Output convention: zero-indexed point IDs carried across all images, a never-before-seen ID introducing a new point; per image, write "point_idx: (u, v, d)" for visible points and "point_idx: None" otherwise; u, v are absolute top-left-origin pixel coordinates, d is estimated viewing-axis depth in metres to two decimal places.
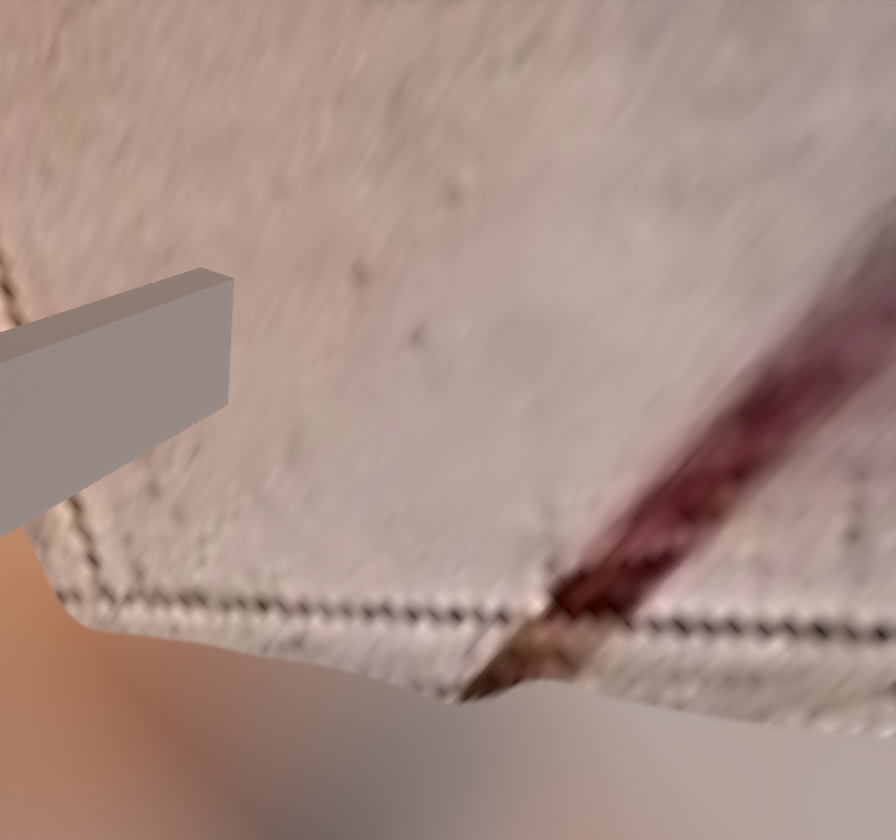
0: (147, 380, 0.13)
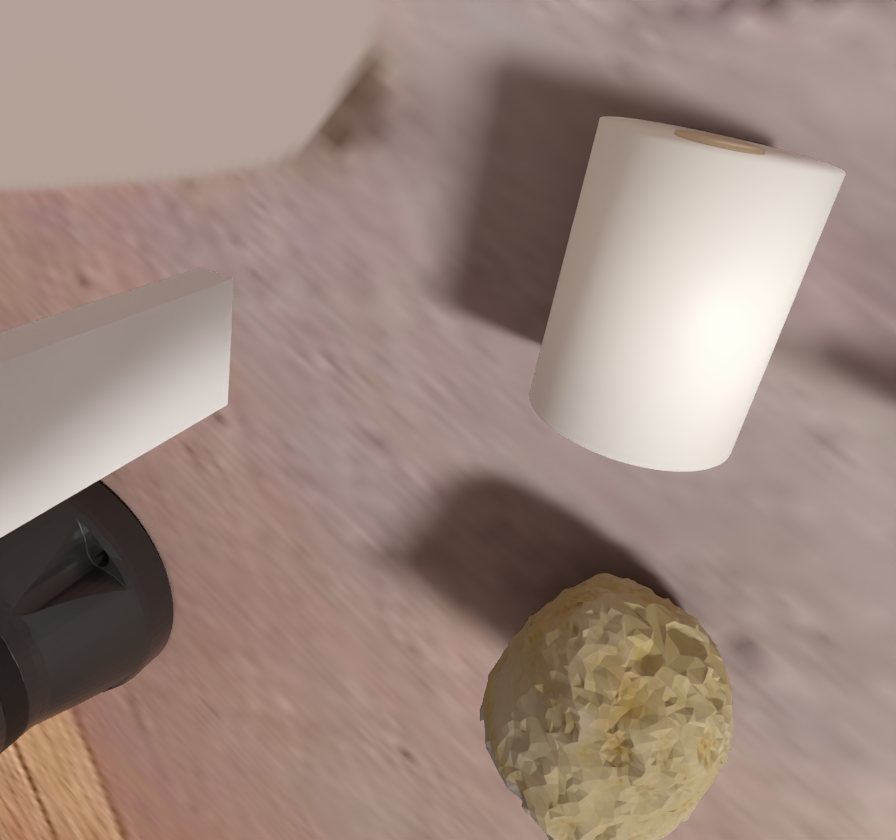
0: (147, 380, 0.13)
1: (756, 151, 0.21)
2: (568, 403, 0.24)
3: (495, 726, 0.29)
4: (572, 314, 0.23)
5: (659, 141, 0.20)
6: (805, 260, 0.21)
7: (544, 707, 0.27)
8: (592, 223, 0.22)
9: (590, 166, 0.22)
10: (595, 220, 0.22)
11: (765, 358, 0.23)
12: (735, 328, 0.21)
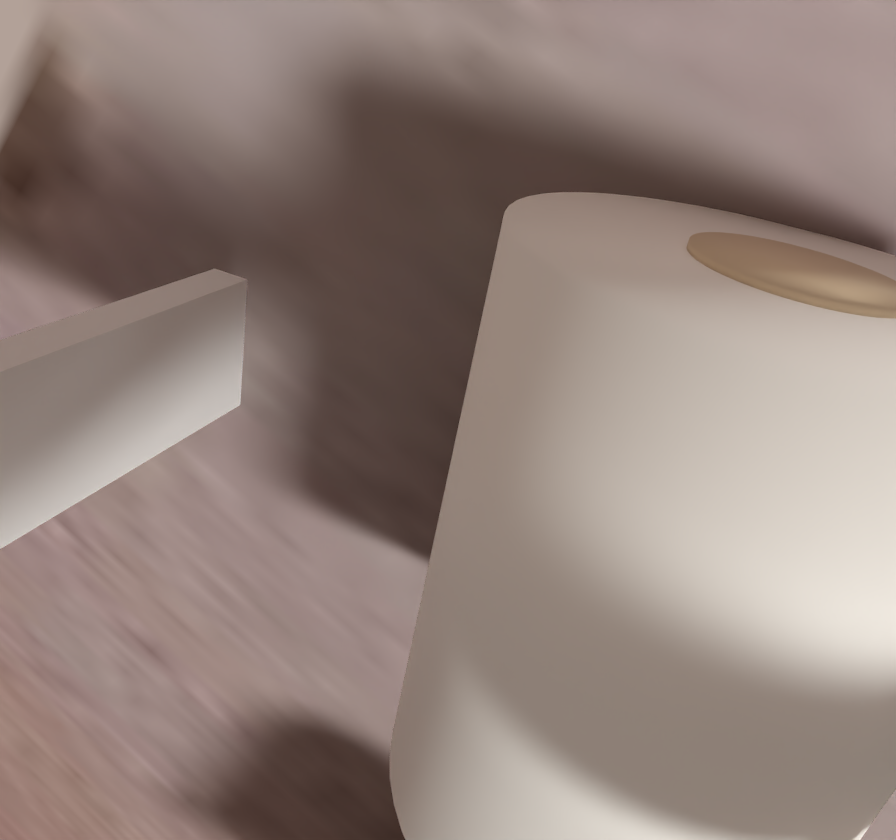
0: (162, 381, 0.13)
1: None
2: None
3: None
4: (548, 766, 0.09)
5: (872, 391, 0.06)
6: None
7: None
8: (594, 572, 0.08)
9: (540, 398, 0.08)
10: (607, 567, 0.07)
11: None
12: None
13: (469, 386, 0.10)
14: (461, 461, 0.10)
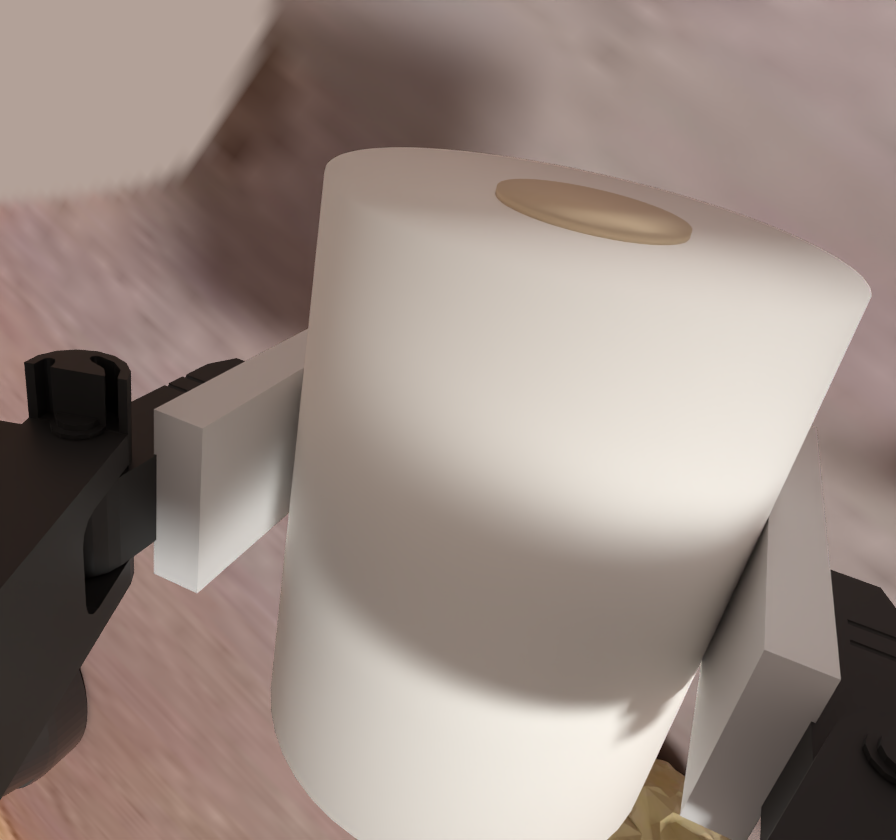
0: None
1: (656, 238, 0.09)
2: (290, 710, 0.12)
3: None
4: (290, 545, 0.11)
5: (376, 217, 0.08)
6: (764, 495, 0.09)
7: None
8: (306, 375, 0.10)
9: None
10: (308, 371, 0.10)
11: (681, 676, 0.10)
12: (583, 647, 0.09)
13: None
14: None
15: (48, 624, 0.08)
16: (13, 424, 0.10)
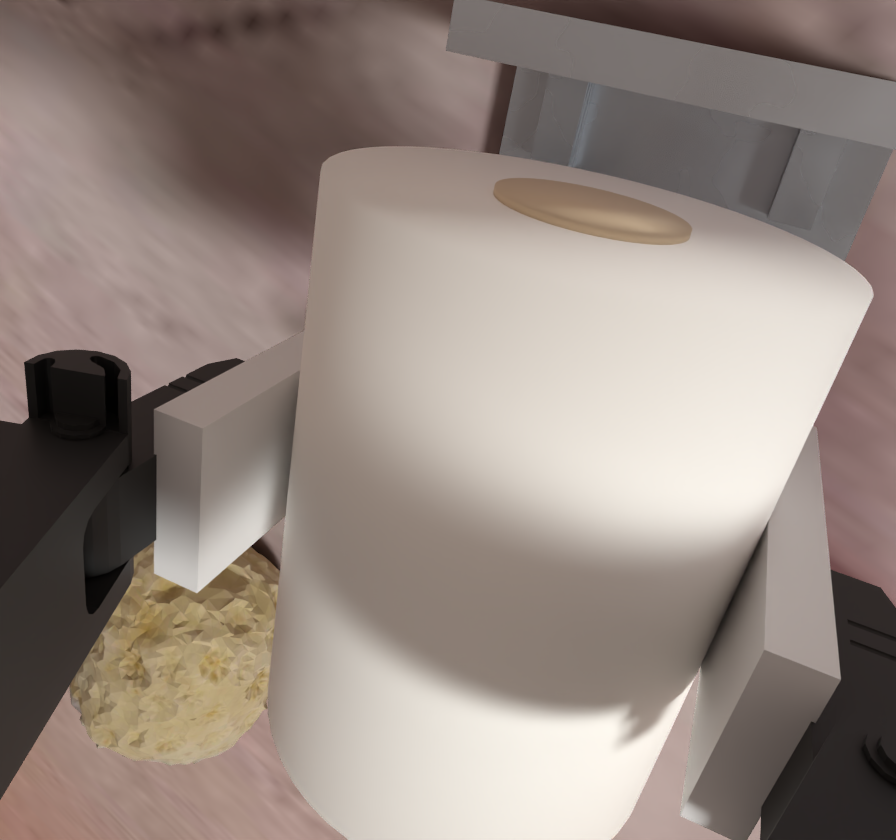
0: None
1: (656, 238, 0.09)
2: (287, 714, 0.12)
3: None
4: (286, 547, 0.11)
5: (372, 217, 0.08)
6: (764, 498, 0.09)
7: None
8: (302, 376, 0.10)
9: None
10: (304, 372, 0.10)
11: (681, 679, 0.10)
12: (581, 652, 0.09)
13: None
14: None
15: (48, 624, 0.08)
16: (13, 424, 0.10)
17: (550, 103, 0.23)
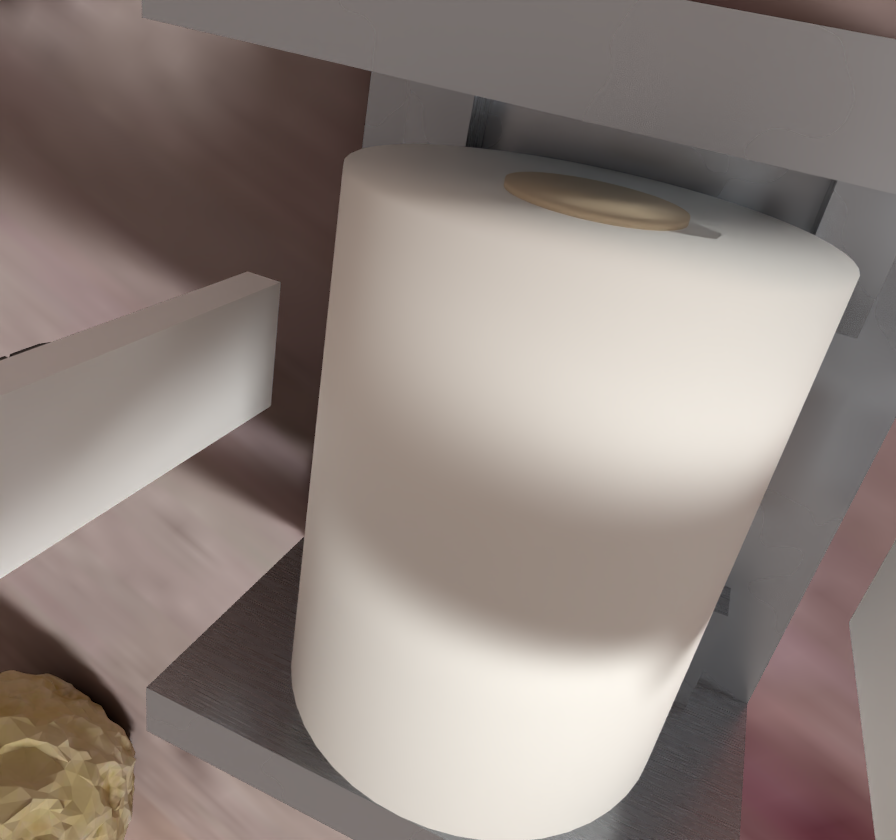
0: (200, 382, 0.13)
1: (656, 224, 0.10)
2: (311, 682, 0.12)
3: None
4: (311, 522, 0.12)
5: (394, 205, 0.09)
6: (760, 465, 0.10)
7: None
8: (326, 359, 0.11)
9: None
10: (328, 354, 0.11)
11: (685, 642, 0.11)
12: (591, 609, 0.10)
13: None
14: None
15: None
16: None
17: (418, 115, 0.14)
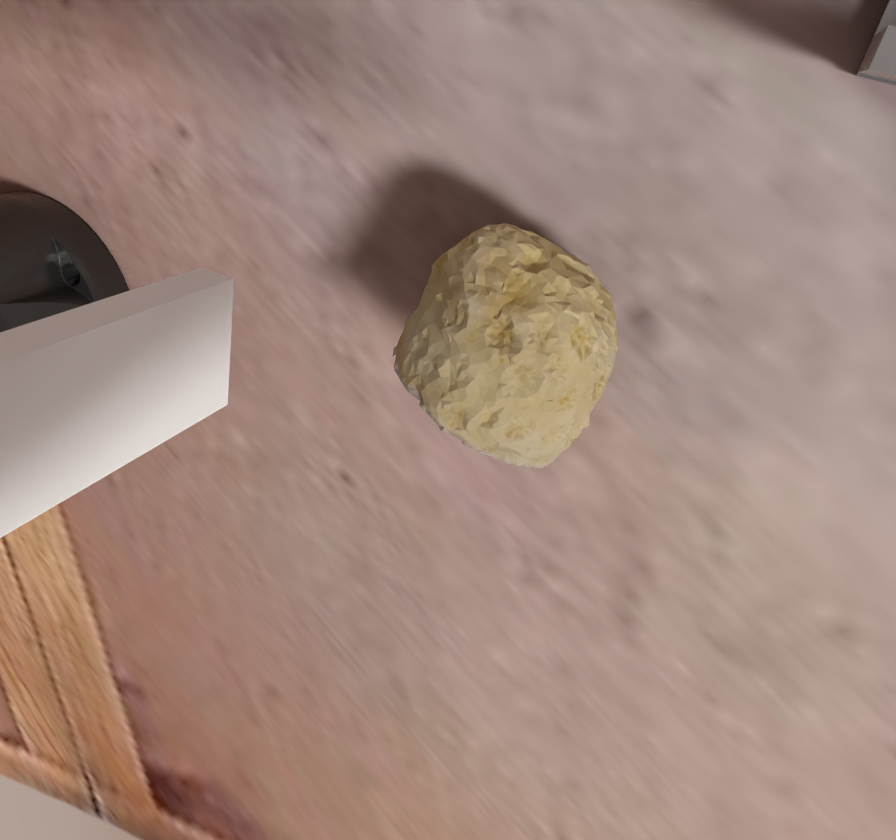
0: (147, 380, 0.13)
1: None
2: None
3: (403, 348, 0.32)
4: None
5: None
6: None
7: (442, 310, 0.30)
8: None
9: None
10: None
11: None
12: None
13: None
14: None
15: None
16: None
17: None
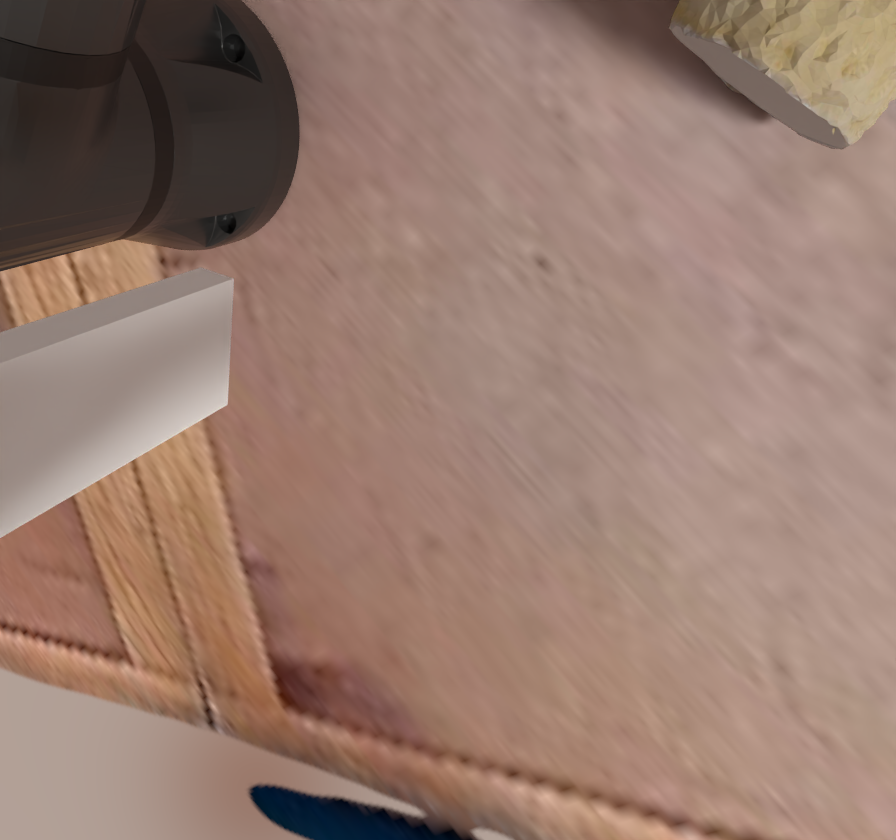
0: (147, 380, 0.13)
1: None
2: None
3: (695, 7, 0.28)
4: None
5: None
6: None
7: None
8: None
9: None
10: None
11: None
12: None
13: None
14: None
15: None
16: None
17: None
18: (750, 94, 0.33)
